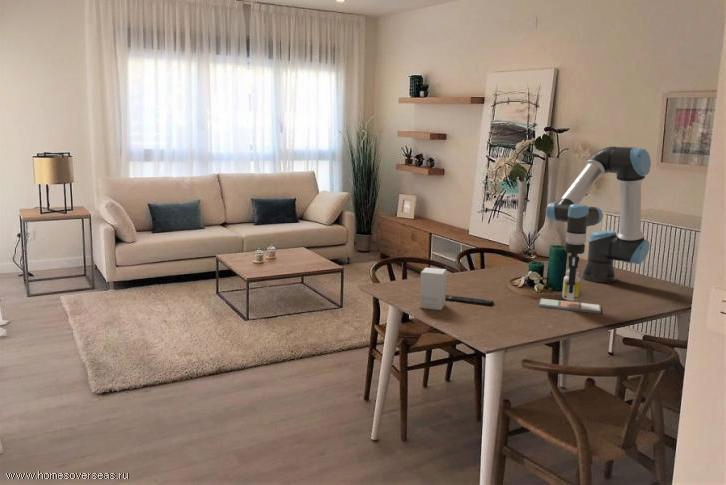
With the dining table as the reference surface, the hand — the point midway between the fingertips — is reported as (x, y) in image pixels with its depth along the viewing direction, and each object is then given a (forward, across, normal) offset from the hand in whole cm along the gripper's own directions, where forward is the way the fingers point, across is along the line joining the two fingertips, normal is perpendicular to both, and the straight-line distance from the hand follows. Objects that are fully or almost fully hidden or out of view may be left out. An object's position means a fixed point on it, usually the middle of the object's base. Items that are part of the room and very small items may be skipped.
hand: (570, 297), depth 262 cm
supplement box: (+4, +21, -53) cm, 57 cm away
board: (+4, 0, 0) cm, 4 cm away
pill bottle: (0, 0, 0) cm, 0 cm away
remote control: (+5, +9, -42) cm, 43 cm away
